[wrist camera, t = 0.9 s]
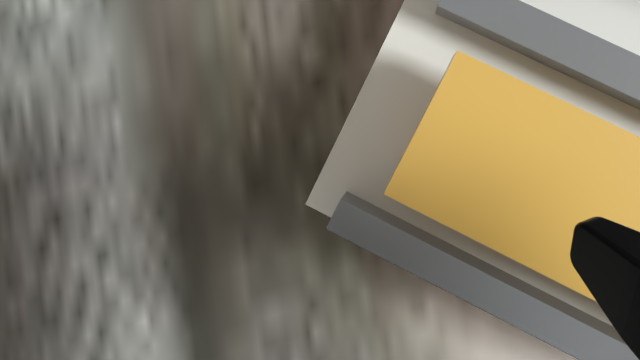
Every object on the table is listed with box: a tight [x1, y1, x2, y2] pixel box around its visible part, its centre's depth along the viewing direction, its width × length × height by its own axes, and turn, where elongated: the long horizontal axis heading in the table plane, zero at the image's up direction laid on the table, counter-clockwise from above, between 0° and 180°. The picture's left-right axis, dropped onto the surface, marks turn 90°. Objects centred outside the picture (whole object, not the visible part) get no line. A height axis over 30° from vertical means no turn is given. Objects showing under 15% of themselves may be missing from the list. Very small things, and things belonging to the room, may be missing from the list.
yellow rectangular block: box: [384, 50, 640, 302], centre depth 15 cm, size 12×4×2 cm, turn 64°
